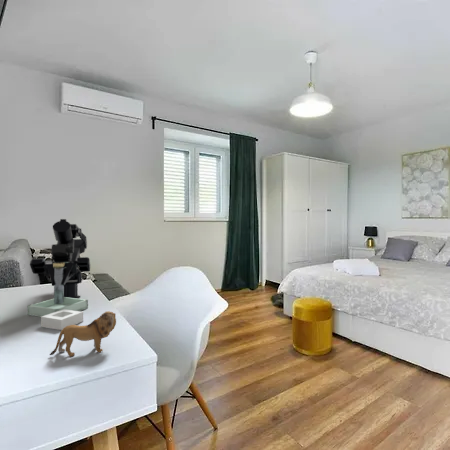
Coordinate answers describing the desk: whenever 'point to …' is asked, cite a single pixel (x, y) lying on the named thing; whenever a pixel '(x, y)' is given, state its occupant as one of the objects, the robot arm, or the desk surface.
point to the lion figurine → (87, 332)
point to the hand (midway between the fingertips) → (57, 285)
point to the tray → (57, 306)
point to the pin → (58, 282)
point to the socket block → (61, 319)
